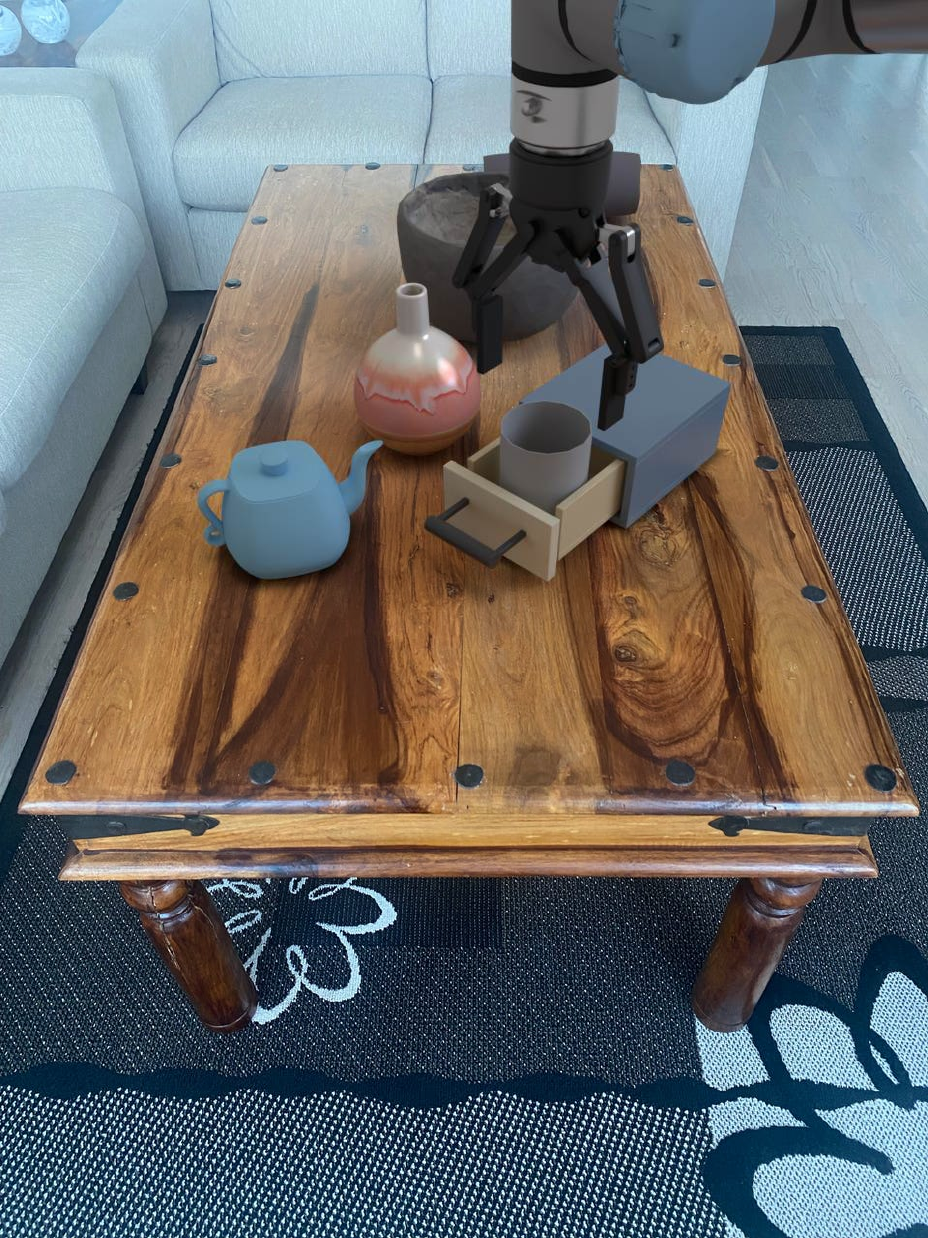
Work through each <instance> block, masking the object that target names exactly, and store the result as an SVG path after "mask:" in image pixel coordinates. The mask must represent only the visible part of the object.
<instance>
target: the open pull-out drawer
mask: <svg viewBox="0 0 928 1238" xmlns="http://www.w3.org/2000/svg"><path fill="white" fill-rule="evenodd" d="M627 466H628V462H627V461H625V460H623V459H621V458H619V457H617V456H615V455H613V454H611V453H609V452H607V451H605V450H603V449H601V448H599V447H597V446H595V445H593V444H591V449H590V458H589V467H588V476H587V483H585V484H584V485H583V486H582V487H580V488H579V489H578V490H576V491H575V492H574V493H573V494H571V495H570V496H569V497H568V498H566V499H565V500H564V501H562V502H561V503H560V504H559V505H557V506H556V513H555V517H554V516H552V515H550V514H548V513H547V512H545V511H543V510H541V509H539V508H537V507H536V506H534V505H532V504H530V503H528V502H527V501H525V500H523V499H521V498H519V497H517V496H516V495H514V494H512V493H510V492H508V491H506V490H505V489H503V488H501V487H499V469H500V436H498V437H497V438H496V439H494V440H493V441H491V442H490V443H488V444H487V445H485V446H484V447H482V448H481V449H479V450H477V451H476V452H475V453H474V454H472V455H471V456H469V457H467V468H466V467H464V466H463V465H461V464H460V463H458V462H456V461H453V460H452V459H451V460H449V461H448V462H446V463H445V464H444V465H443V466H442V475H443V500H444V502H443V503H444V505H443V506H444V511H443V512H441V513H440V514H438V515H435V514H430V515H428V516H427V517H426V519H425V520H424V523H423V528H424V530H425V531H427V532H428V533H429V534H432V535H433V536H434V537H437V538H438V539H439V540H441V541H443V542H445V543H447V544H448V545H449V546H451V547H452V548H455V549H456V550H458V551H460V552H461V553H463V554H464V555H466V556H468V557H469V558H471V559H472V560H474V561H476V562H477V563H479V564H481V565H482V566H484V567H485V568H487V569H490V570H493V569H495V568H496V567H497V566H498V565H499V563H500V561H501V557H505V558H507V559H508V560H510V561H512V562H513V563H514V564H516V565H518V566H519V567H521V568H523V569H525V570H526V571H528V572H530V573H531V574H534V575H535V576H537V577H539V578H540V579H541V580H544V581H545V582H549V581H551V580H552V579H554V577H555V576H556V572H557V571H556V570H557V561H558V562H559V561H560V560H562V559H563V558H564V557H565V556H566V555H567V554H569V553H570V552H571V551H573V550H574V548H576V547H577V546H578V545H579V544H581V543H582V542H583V541H584V540H585V539H587V538H588V537H589V536H590V535H591V534H593V533H594V532H595V531H596V530H597V529H599V528H600V527H601V526H602V525H604V524H605V523H606V522H608V521H609V520H608V519H609V518H611V517H612V516H613V515H614V514H615V513H617V512H618V511H619V510H620V509H621V507H622V500H623V494H624V487H625V480H626V473H627Z"/></svg>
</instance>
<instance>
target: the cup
mask: <svg viewBox="0 0 928 1238" xmlns="http://www.w3.org/2000/svg"><path fill="white" fill-rule="evenodd" d="M499 431H500V432H499V437H500V469H499V487H501V488H503V489H505V490H506V491H508V492H510V493H512V494H514V495H516V496H517V497H519V498H521V499H523V500H525V501H527V502H528V503H530V504H532V505H534V506H536V507H537V508H539V509H541V510H543V511H545V512H547V513H548V514H550V515H552V516H554V517H555V513H556V506H557V505H559V504H560V503H561V502H562V501H564V500H565V499H566V498H568V497H569V496H570V495H571V494H573V493H574V492H575V491H576V490H578V489H579V488H580V487H582V486H583V485H584V484H585V483H587V476H588V467H589V458H590V449H591V441H592V426H591V420H590V419H589V418H588V417H587V416H586V415H585V414H584V413H583V412H582V411H581V410H579V409H577V408H575V407H572V406H570V405H568V404H565V403H561V402H554V401H546V400H543V401H535V402H527V403H523V404H521V405H519V404H518V405H517V406H514V407H513V408H510V409H508V410H507V412H506V413H505V414H504V416H503V417H502V418H501V419H500V430H499Z"/></svg>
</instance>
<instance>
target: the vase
mask: <svg viewBox="0 0 928 1238" xmlns="http://www.w3.org/2000/svg"><path fill="white" fill-rule="evenodd" d="M395 302H396V303H395V304H396V305H395V306H396V307H395V308H396V322H397V323H396V327H394V328H392V329H391V330H389V331H387V332H385V333H384V334H383V335H381V336H380V337H379V338H377V339H376V340H375V341H374V342H373V343H372V344H371V345H370V346H369V348H367V350H366V351H365V353H364V354H363V356H362V357H361V360H360V362H359V363H358V366H357V368H356V372H355V375H354V380H353V381H354V382H353V392H352V393H353V394H352V395H353V404H354V409H355V412H356V416H357V418H358V420H359V422H360V423H361V426H362V427H363V428H364V429H365V430H366V432H367V433H368V434H369V435H370V436H371V437H372V438H373V439H374V440H375V441H378V440H381V441H383V444H382V445H383V446H385V447H387V448H389V449H391V450H394V451H395V452H399V453H401V454H404V455H408V456H416V457H421V456H430V455H433V454H437V453H438V452H441V451H443V450H444V449H446V448H448V447H450V446H452V445H453V444H455V443H457V442H458V441H459V440H460V439H461V438H463V437H464V436H465V435H466V434H467V433H468V431H469V430H470V429H471V427H472V426H473V425H474V423H475V421H476V419H477V417H478V415H479V413H480V407H481V402H482V387H481V380H480V379H481V378H480V374H479V373H478V372H477V365H476V364H475V362H474V360H473V358H472V356H471V355H470V354H469V352H468V351H467V349H466V348H465V347H464V346H463V345H462V344H461V343H460V342H459V341H458V340H457V339H456V338H455V337H452V336H450V335H448V334H447V333H445V332H443V331H441V330H440V329H438V328H437V327H435V326H434V325H433V326H432V325H430V324H431V323H430V322H429V310H428V297H427V289H426V288H425V287H424V286H423V285H421V284H418V283H403V284H401V285H399V286H398V287H397V288H396V290H395Z"/></svg>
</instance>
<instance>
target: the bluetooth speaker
mask: <svg viewBox="0 0 928 1238" xmlns="http://www.w3.org/2000/svg"><path fill="white" fill-rule="evenodd" d="M482 157H483V158H482V161H483V172H509V152H506V153H503V152H502V153H495V154H488V155H483V156H482ZM641 159H642V158H641V155H640V153H638V152H630V151H618V150H616V151H615V150H613V157H612V167H611V178H610V188H609V192H608V195H607V198H606V201H605V205H604V214H605V218H611V217H612V218H613V217H622V216H623V217H624V216H629V215H635V214H636V213H637V212H638V209H639V205H640V199H641V170H642V160H641Z"/></svg>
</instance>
